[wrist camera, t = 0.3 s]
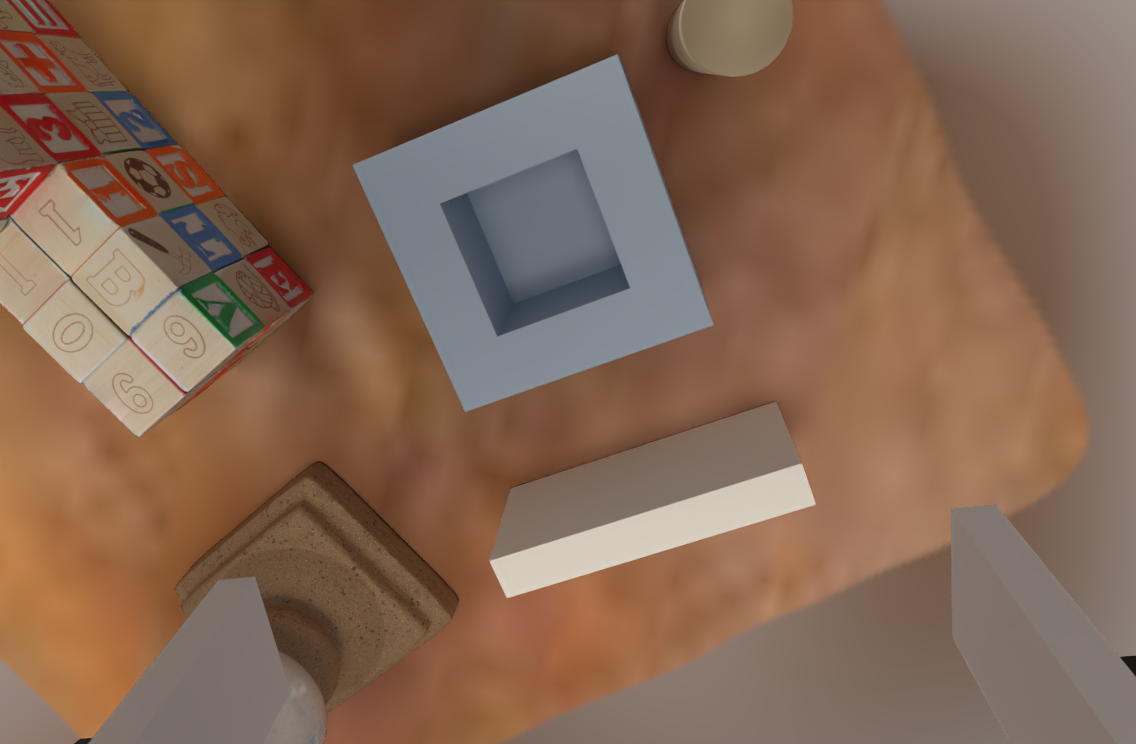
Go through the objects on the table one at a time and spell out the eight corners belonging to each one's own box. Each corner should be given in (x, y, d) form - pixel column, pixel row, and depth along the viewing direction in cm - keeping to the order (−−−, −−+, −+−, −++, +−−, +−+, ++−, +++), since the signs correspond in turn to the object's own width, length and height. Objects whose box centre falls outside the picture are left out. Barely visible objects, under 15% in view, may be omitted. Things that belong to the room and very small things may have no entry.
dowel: (656, 13, 37) (667, -14, 24) (724, -16, 37) (774, -60, 23) (679, 83, 38) (703, 93, 25) (746, 56, 37) (806, 51, 24)
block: (392, 150, 40) (352, 164, 34) (620, 55, 38) (617, 54, 32) (487, 366, 43) (465, 412, 37) (702, 289, 41) (713, 325, 35)
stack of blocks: (320, 292, 43) (202, 378, 31) (234, 368, 44) (91, 477, 33) (-25, -83, 38) (-315, -147, 26) (-107, 17, 40) (-413, -2, 28)
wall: (510, 488, 45) (489, 560, 38) (775, 401, 42) (801, 463, 36) (547, 568, 46) (532, 652, 40) (805, 489, 44) (836, 564, 37)
